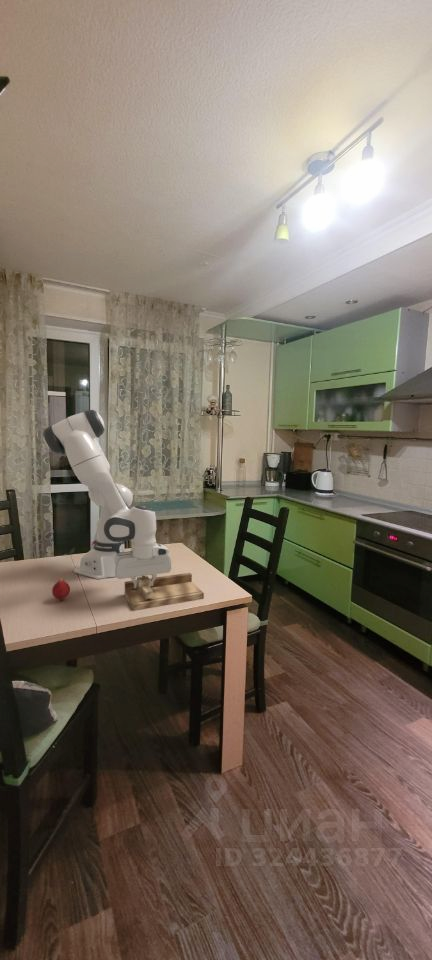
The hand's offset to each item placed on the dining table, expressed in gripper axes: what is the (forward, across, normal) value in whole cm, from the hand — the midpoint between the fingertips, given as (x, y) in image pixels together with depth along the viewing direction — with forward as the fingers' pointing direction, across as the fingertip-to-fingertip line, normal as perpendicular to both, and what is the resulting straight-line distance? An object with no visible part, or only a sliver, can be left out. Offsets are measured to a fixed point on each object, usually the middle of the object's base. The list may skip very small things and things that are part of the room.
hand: (143, 586), depth 139 cm
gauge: (+1, 0, -3) cm, 3 cm away
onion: (+4, -28, +8) cm, 29 cm away
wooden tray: (+4, +7, -2) cm, 9 cm away
